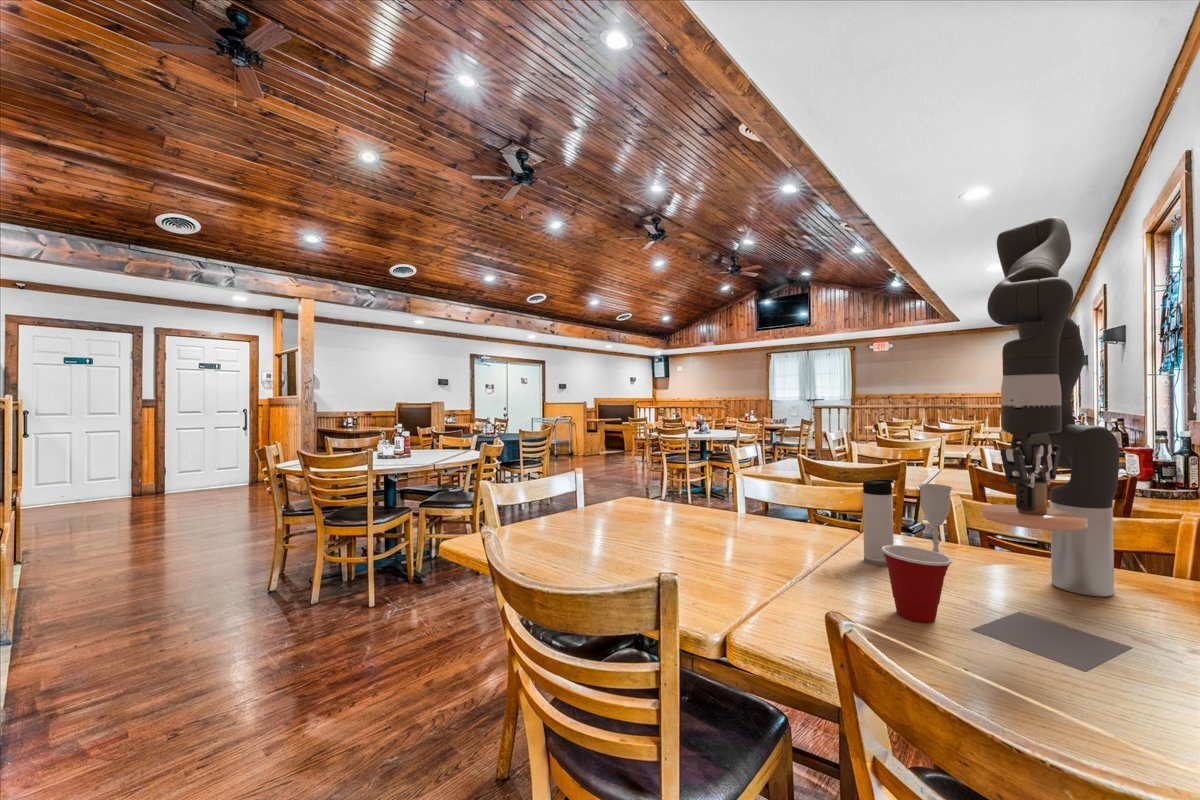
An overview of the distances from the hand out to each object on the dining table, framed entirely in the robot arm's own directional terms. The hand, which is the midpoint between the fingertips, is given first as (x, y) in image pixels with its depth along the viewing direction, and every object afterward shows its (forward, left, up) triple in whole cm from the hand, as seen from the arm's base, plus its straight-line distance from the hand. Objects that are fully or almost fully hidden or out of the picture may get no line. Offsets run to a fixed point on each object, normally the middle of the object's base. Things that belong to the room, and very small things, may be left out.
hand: (1032, 508), depth 83 cm
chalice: (-25, -31, -21) cm, 45 cm away
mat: (-1, +1, -21) cm, 21 cm away
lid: (0, 0, -2) cm, 2 cm away
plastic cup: (+9, -14, -21) cm, 27 cm away
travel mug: (-13, -37, -21) cm, 44 cm away
